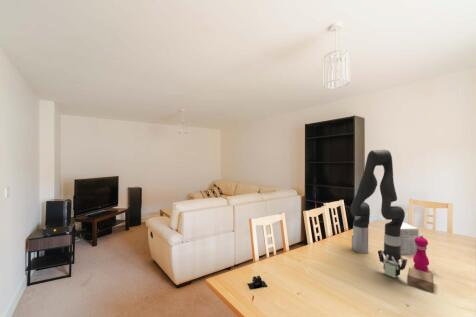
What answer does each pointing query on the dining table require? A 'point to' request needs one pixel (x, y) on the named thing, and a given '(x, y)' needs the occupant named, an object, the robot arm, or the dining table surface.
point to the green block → (390, 269)
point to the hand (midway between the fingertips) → (391, 273)
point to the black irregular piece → (257, 283)
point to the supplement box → (408, 239)
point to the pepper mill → (421, 254)
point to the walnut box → (420, 279)
